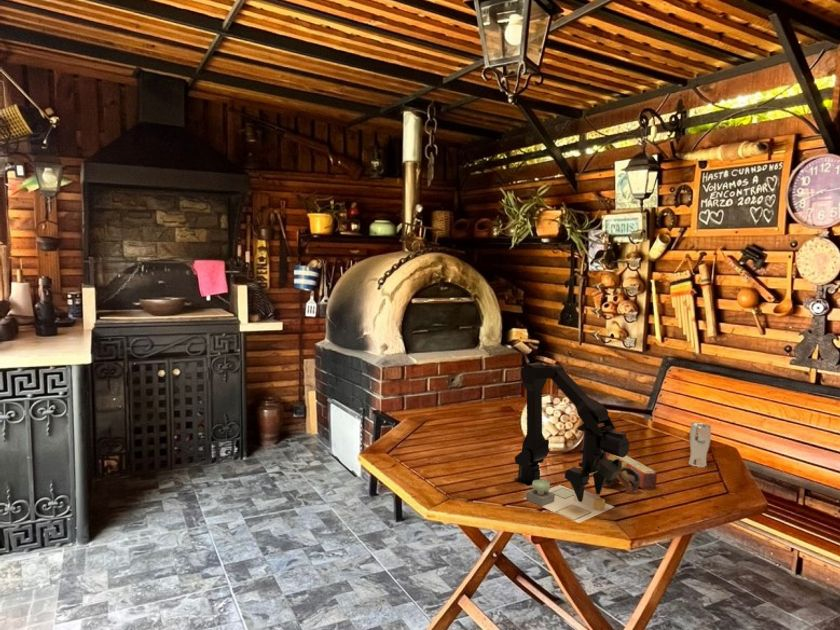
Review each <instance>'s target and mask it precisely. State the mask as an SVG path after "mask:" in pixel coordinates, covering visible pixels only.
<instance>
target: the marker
mask: <svg viewBox="0 0 840 630" xmlns="http://www.w3.org/2000/svg"><path fill="white" fill-rule="evenodd" d="M573 501H576V502H578V503H581V504H583V505H585V506H588V507H590V508H593V509H594V508H595V509H597V510H602V509H604V508H605V503H606V499H605V498H602V497H600V496H599V495H598V494H597V495H596V494H594V493H592V492H590V491H586V490H584V495H583V500H582V502H580V501H578V499H577V496H576V494H575V492H574V500H573Z"/></svg>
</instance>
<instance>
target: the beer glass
mask: <svg viewBox="0 0 840 630" xmlns="http://www.w3.org/2000/svg"><path fill="white" fill-rule="evenodd" d="M711 436H712V426H711V425H710V424H708V423H704V422H692V423H691V425H690V431H689V447H690V448H689V449H690V457H689V460H688V464H689V465H690V466H692V467H695V466H697V467H696V468H706V467H707V464H708V463H707V455H708V451H709V449H710V444H711V438H712V437H711ZM705 466H706V467H705Z"/></svg>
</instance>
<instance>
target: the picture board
mask: <svg viewBox="0 0 840 630" xmlns="http://www.w3.org/2000/svg"><path fill="white" fill-rule="evenodd" d="M548 491H549V492H551V493H554V494H555V498H554V502H552V503H549V504H547V505H544V506H540V507H541V508H543V509H546V510H548V511H551V512H552V513H555V514H558V515H560V516H561V517H564V518H566V519H568V520H570V521H572V522H575V523H577V524H581V523H582V522H584V521H588V520H589V519H591V518H593V517H595V516H596V517H597V516H598V515H601V514H602V513H604V512H607V511H609V510H611V509H613V508H614V505H611V504H608V503H607V502H605V508H604V509H602V510H597V509H595V508H594V509H593V508H590V507H588V506H585V505H583V504H581V503H578V502H576V501H573V500H574V489H571V488H568V487H566V486H563V485H561V484H559V485H555V486H554V487H551V488H550V490H548ZM523 499H524V500H526V497H523Z"/></svg>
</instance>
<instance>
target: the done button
mask: <svg viewBox="0 0 840 630" xmlns="http://www.w3.org/2000/svg"><path fill="white" fill-rule="evenodd" d="M550 487H551V483H550V482H549V481H547V480H543V479H540V480H534V481H533V482H532V486H531V488H532V490H533V489H535V490H537V494H538V495H541V496H542V495H544V491H548V490H550Z"/></svg>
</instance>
